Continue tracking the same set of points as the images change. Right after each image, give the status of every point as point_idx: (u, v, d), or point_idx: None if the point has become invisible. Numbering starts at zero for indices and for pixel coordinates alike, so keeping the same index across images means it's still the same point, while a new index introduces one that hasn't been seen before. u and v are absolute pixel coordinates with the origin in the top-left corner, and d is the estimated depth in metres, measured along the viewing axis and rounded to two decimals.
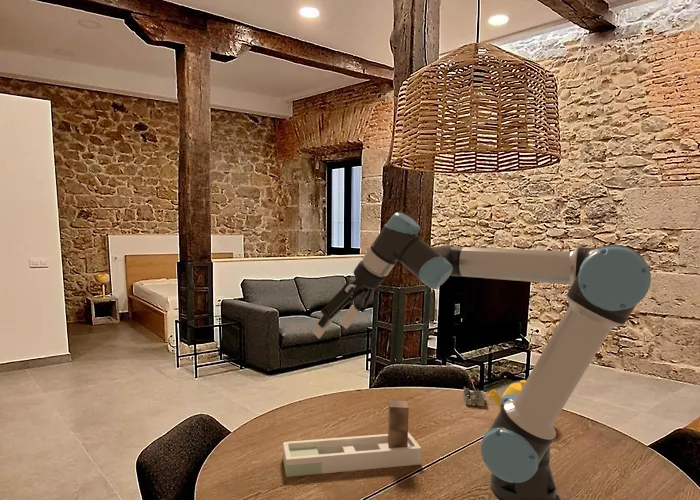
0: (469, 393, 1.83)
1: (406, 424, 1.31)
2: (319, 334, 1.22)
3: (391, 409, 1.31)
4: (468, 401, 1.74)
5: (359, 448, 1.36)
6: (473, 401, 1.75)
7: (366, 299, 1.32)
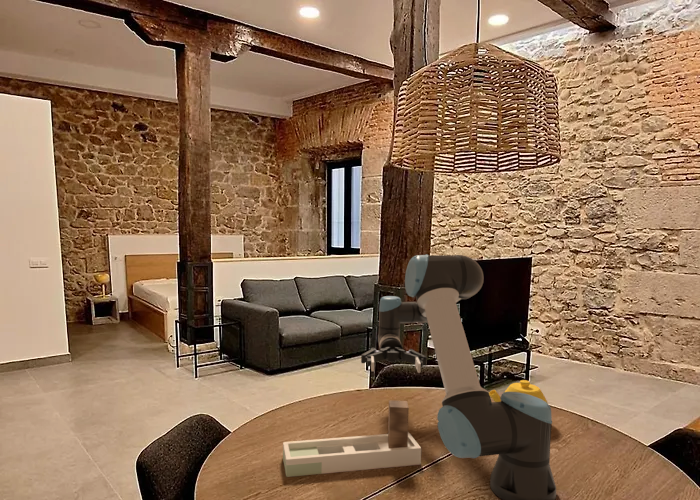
0: None
1: (406, 424, 1.31)
2: (371, 362, 1.44)
3: (391, 409, 1.31)
4: None
5: (359, 448, 1.36)
6: None
7: (418, 355, 1.52)
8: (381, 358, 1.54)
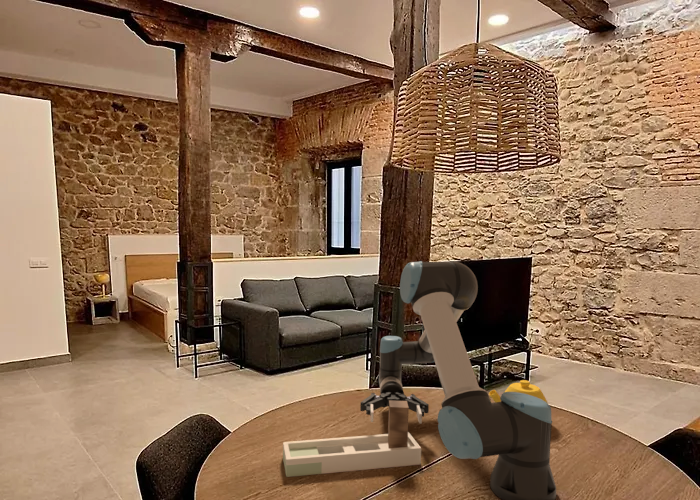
0: None
1: (406, 424, 1.31)
2: (370, 412, 1.38)
3: (391, 409, 1.31)
4: None
5: (359, 448, 1.36)
6: None
7: (419, 402, 1.47)
8: (381, 405, 1.48)
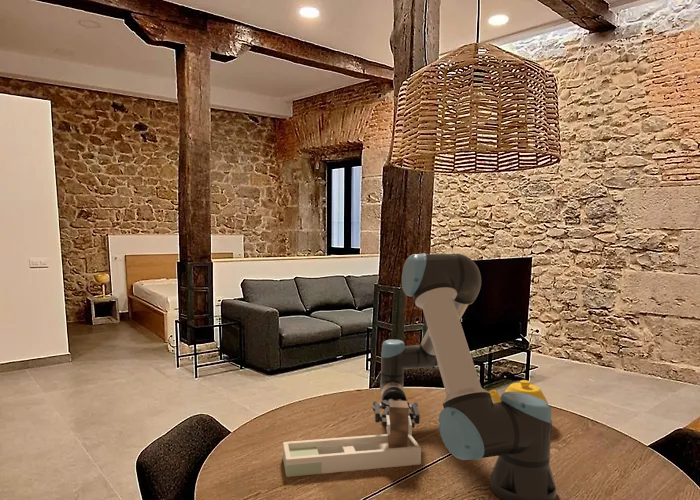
0: None
1: (406, 424, 1.31)
2: (387, 424, 1.30)
3: (391, 409, 1.31)
4: None
5: (359, 448, 1.36)
6: None
7: (414, 412, 1.39)
8: None
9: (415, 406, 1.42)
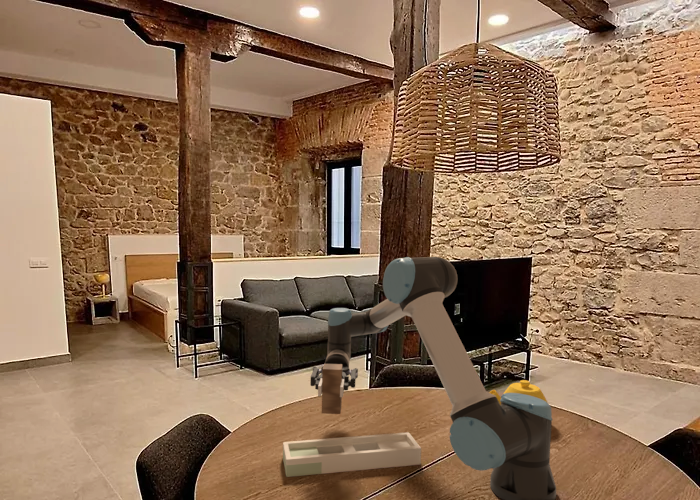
0: None
1: (339, 386, 1.29)
2: None
3: (323, 371, 1.29)
4: None
5: (359, 448, 1.36)
6: None
7: (351, 376, 1.37)
8: None
9: (354, 371, 1.40)
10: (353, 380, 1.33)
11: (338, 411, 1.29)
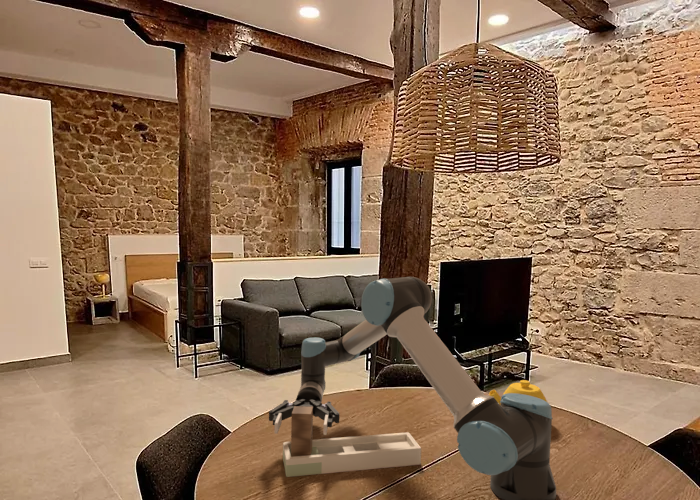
0: None
1: (308, 431, 1.26)
2: None
3: (293, 415, 1.25)
4: None
5: (359, 448, 1.36)
6: None
7: (331, 411, 1.34)
8: None
9: (330, 405, 1.38)
10: (338, 415, 1.31)
11: None
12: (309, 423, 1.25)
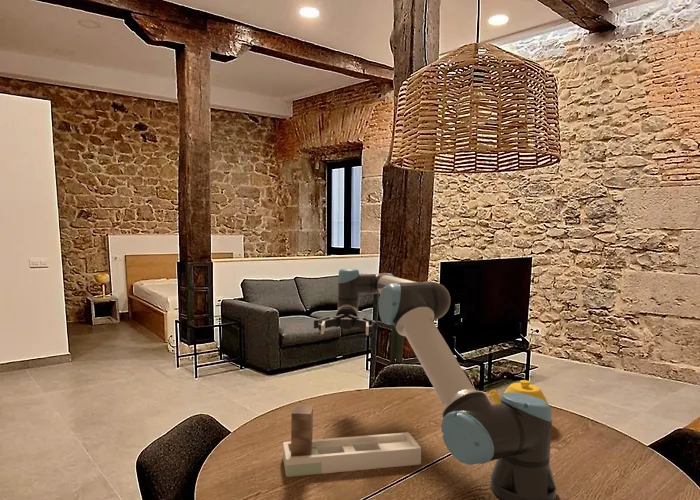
0: None
1: (308, 431, 1.26)
2: (321, 326, 1.48)
3: (293, 415, 1.25)
4: None
5: (359, 448, 1.36)
6: None
7: None
8: (334, 324, 1.58)
9: (367, 318, 1.60)
10: (376, 323, 1.54)
11: None
12: (309, 423, 1.25)
